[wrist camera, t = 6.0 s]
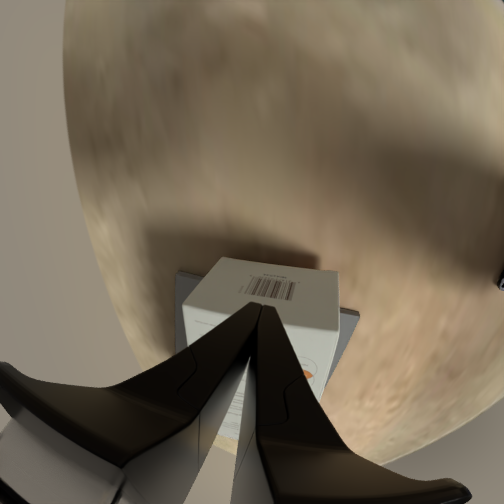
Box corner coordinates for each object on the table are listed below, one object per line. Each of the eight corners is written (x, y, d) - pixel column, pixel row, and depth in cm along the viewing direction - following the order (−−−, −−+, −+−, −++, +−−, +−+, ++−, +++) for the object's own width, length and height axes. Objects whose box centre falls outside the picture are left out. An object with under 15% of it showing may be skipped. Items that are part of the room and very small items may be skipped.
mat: (359, 312, 20) (360, 316, 19) (313, 403, 25) (313, 408, 25) (178, 270, 21) (175, 274, 21) (178, 371, 26) (176, 375, 26)
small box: (221, 253, 19) (225, 379, 25) (178, 303, 14) (201, 431, 19) (341, 269, 18) (311, 395, 23) (343, 332, 12) (300, 453, 17)
